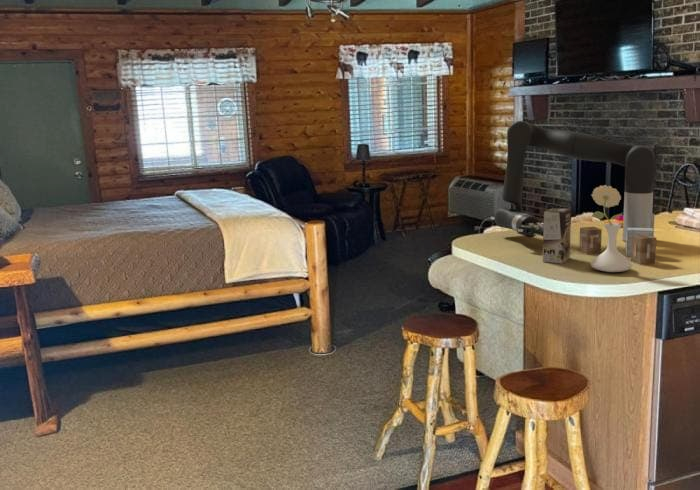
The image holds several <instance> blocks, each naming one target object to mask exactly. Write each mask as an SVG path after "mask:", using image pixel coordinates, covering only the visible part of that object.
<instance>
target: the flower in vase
mask: <svg viewBox="0 0 700 490" xmlns="http://www.w3.org/2000/svg"><path fill="white" fill-rule="evenodd" d="M590 195H591V197H592V199H593V201H594V202H595V204H597V205H598V206H603V212H601V211H599V210H598V211H595V212H593V214H591V218H596V219H600V220H602V219H604V217H605V218H606V220H608V221H609V223H605V224H604V223H603V226H604V227H605V229H606V232H607V233H606V234H607V239H608V240H607V247H606V249H605V250H604V251H603V252H601V253H599V254H598V255H597V256H595V258H593V259H592V260H591V262H590V266H591V267H592V268H593V269H594V270H598V271H601V272H606V273H620V272H626V271H628V270H631V269H632V268H633V264H632V261H631V260H629V259H628V257H627V256H626V255H623V254H622V253H621V252H620V251H619V250H618V248H617V238H618V232H619V230H620V229H621V228H622V227H621V226H622V224H620V223H611V222H610V220H612V219H616V218H617V217H619V216H620V215H623V214H624V211H623V212H621V213H618V214H615V215H613V216H611V218H610V219H609V217H608V216H607V213H606V208H611V207H615V206H618V205H619V203H620V202H621V201H620V200H622V196H621V194H620V192H619V191H618V190H617V188H613V187H612V186H611V185H608V186H607V184H604V185H599V186H598V187H595V188H594V189H593V191H592V194H590Z"/></svg>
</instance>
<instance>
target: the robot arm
mask: <svg viewBox="0 0 700 490" xmlns="http://www.w3.org/2000/svg"><path fill="white" fill-rule="evenodd" d="M506 135H507V136H506V138H507V142H506V143H507V161H506V167H505V168H506V169H505V175H504V181H503V189H502V195H501V196H502V201H504V202H506V203H510V204H512V208H506V207H503V208H499V209H497V210H496V212H495V213H494V222H495V224H496V225H497V226H498V227H500V228H504V229H510V230H513V231H514V232H516V233H517V234H519V235H521V236H522V237H526V238H534V237H536V236H541V237H543V230H544V223H541V221H540V220H539V218H537V217H535V216H534V215H531V214H528V213H524V211H523V204H522V200H523V198H522V197H523V190H524V179H525V174H524V173H525V170H524V169H525V168H524V167H525V158H526V153H527V149H528V147H529V148H530V147H531V148H536V149H544V150H548V151H550V152H551V153H555V154H557V155H558V154H559V155H561V156H564V157H567V158H571V159H575V160H579V161H580V160H581V161H585V162H586V161H589V162H595V163H596V162H599V163H609V164H610V163H611V164H615V165H619V166H623V167H624V170H625V171H624V196H623V198H624V199H623V215H624V218H623V227H622V241H624V242H626V230H627V228H652V229H653V230H654V231H655V216H656V215H655V213H653V204H654V201H653V200H654V190H655V189H654V186H655V185H654V184H655V170H656V168H655V166H656V155H655V152H654V150H653V149H652V148H650V147H649V146H646V145H643V144H642V145H641V144H628V143H623V142H622V143H621V142H614V141H613V140H612V141H611V140H608V139H605V138H603V137H600V136H599V137H598V136H595V135H591V134H587V133H583V132H577V131H572V130H560V129H549V128H545V127H541V126H539V125H535V124H532V123H530V122H527V121H523V120H517V121H514V122H512V123H511V124H510V125H509V127H508V128H507V133H506Z"/></svg>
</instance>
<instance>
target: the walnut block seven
mask: <svg viewBox="0 0 700 490" xmlns="http://www.w3.org/2000/svg"><path fill="white" fill-rule="evenodd" d="M602 231H603V230H602V228H599V227H596V226H586V227H585V226H584V227H583V226H581V227H580V228H579V245H578V246H579V252H581V253H583V254H585V255H595V254H596V253H597V254H602V233H603V232H602Z"/></svg>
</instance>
